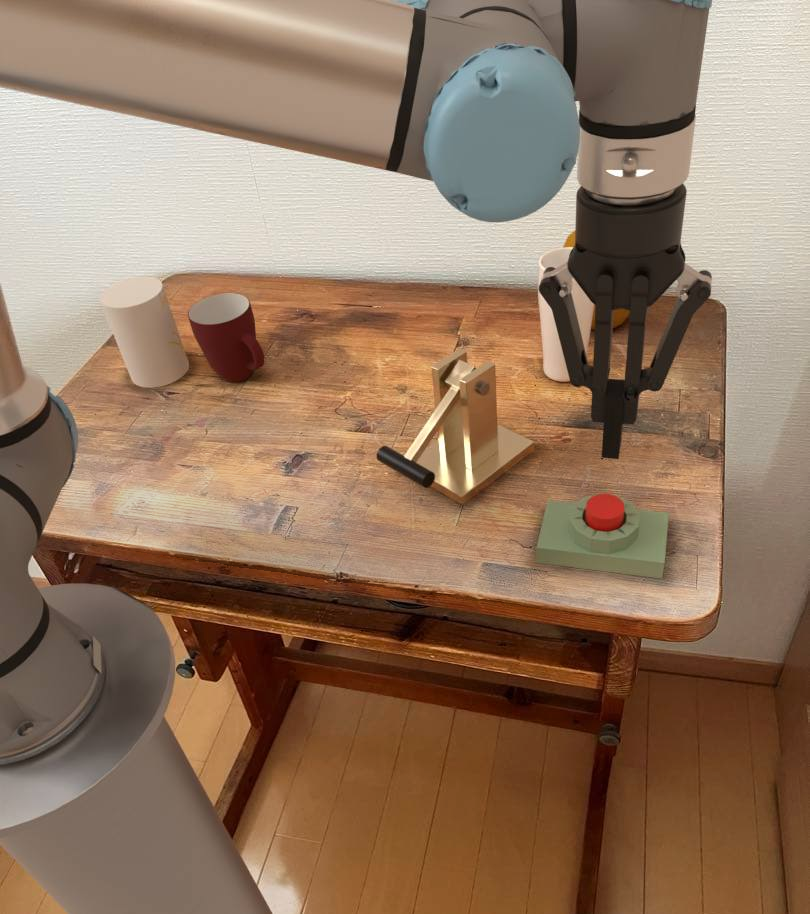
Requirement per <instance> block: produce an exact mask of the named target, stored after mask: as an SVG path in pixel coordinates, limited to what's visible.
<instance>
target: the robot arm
mask: <svg viewBox="0 0 810 914" xmlns="http://www.w3.org/2000/svg"><path fill="white" fill-rule="evenodd" d="M712 5H713V0H0V88H1V89H4V90H5V89H6V90H10V91H15V92H19V93H24V94H27V95H28V94H30V95H32V96H33V95H34V96H38V97H42V98H48V99H51V100H57V101H61V102H67V103H70V104H74V105H80V106H85V107H90V108H95V109H97V110H98V109H99V110H102V111H108V112H111V113H112V112H113V113H117V114H122V115H127V116H132V117H135V118H139V119H140V118H141V119H145V120H150V121H154V122H159V123H164V124H168V125H172V126H177V127H182V128H187V129H192V130H197V131H201V132H206V133H210V134H215V135H220V136H224V137H228V138H234V139H239V140H243V141H247V142H253V143H256V144H261V145H266V146H267V145H268V146H269V147H270V146H271V147H275V148H281V149H285V150H289V151H294V152H299V153H303V154H308V155H314V156H317V157H321V158H327V159H332V160H337V161H340V162H346V163H350V164H354V165H360V166H364V167H369V168H374V169H377V170H382V171H387V172H392V173H397V174H400V175H404V176H405V175H406V176H410V177H414V178H417V179H422V180H424V181H425V180H426V181H430V182H433V183H434V185H435V187H436V189H437V190H438V192H439V193H440V194H441V196H442V197H443V198H444V199H445V200H446V201H447V202H448V203H449V204H450V205H451V206H452V207H453V208H454V209H456V210H457V211H459V212H460V213H462V214H464V215H465V216H467V217H469V218H471V219H474V220H477V221H481V222H485V223H505V222H512V221H515V220H519V219H522V218H526V217H528V216H529V215H531V214H534V213H536V212H538V211H539V210H540V209H541V208H543V207H545V206H546V205H547V204H548V203H549V202H550V201H552V200H553V199H554V197H556V196H557V194H558V193H559V192H560V191H561V189H562V188H563V187H564V185H566V183H567V180H568V178H569V177H570V175H571V173H572V171H573V169H574V167H575V165H577V166H576V180H577V182H578V184H579V185H580V186H579V188H578V189H577V191H576V195H575V197H576V198H575V227H574V228H575V229H574V231H575V245H574V247H573V249H572V250H571V252H570V255H569V259H568V262H566V263H565V264H563V265H561V266H559V267H558V268H554V267H548V268H546V269H545V271H544V273H543V276H542V279H541V282H540V285H539V292H540V294H541V295H542V296H543V298H544V299H545V301H546V302H547V303H548V305H549V306H550V308H551V309H552V312H553V316H554V320H555V324H556V328H557V332H558V336H559V340H560V344H561V347H562V351H563V355H564V359H565V363H566V367H567V371H568V375H569V379H570V381H569V382H570V384H571V385H572V386H573V387H574V388H581V387H585V388H587V389H588V390H589V391H590V392H591V404H590V405H591V406H590V407H591V409H590V418H591V420H592V422H593V423H600V424H601V423H602V424H603V427H602V429H603V430H602V444H601V459H612V460H619V458H620V453H621V446H622V440H623V439H622V438H623V426H624V425H631V426H632V425H634V424H635V423H636V422H637V418H638V411H639V399H640V395H641V394H642V393H643V392H644V391H650V392H659V391H660V390H661V389H663V386H664V383H665V381H666V380H667V377H668V374H669V373H670V370H671V367H672V365H673V362H674V360H675V358H676V356H677V354H678V351H679V349H680V346H681V344H682V343H683V339H684V337H685V334H686V333H687V330H688V328H689V325H690V323H691V321H692V318H693V316H694V314H696V312H697V311H698V310H699V309H700V308H702V306H703V305H704V304H705V303H706V302H707V300H708V299H709V298H710V297H711V294H712V279H713V275H712V273H711V272H710V271H709V270H707V269H702V270H700V271H698V270H696V269H695V268H693V266H690V265H689V264H687V262H686V254H685V253H686V252H685V251H684V249H683V247H682V242H681V241H682V233H683V227H684V226H683V225H684V216H685V208H686V201H687V193H688V192H687V188H686V187H687V186H686V184H684V183H685V182H686V181H687V180H688V178H689V175H690V169H691V168H690V167H691V159H692V152H693V143H694V134H695V128H696V127H695V126H696V119H697V115H696V109H697V101H698V93H699V85H700V78H701V72H702V65H703V56H704V50H705V42H706V35H707V29H708V22H709V14H710V9H711V8H712ZM577 102H578V106H579V109H578V107H577ZM578 110H579V111H578ZM572 278H574V279H575V281H576V282H577V283H578V285H579V286H580V287H581V289H582V290H583V291H584V293H585V294H586V295H587V297H588V298H589V299H590V301H591V302H592V303H593V304H595V305H596V309H595V330H594V338H593V339H594V342H593V359H592V365H590V364H589V360H588V355H587V356H586V352H585V348H584V344H583V340H582V335H581V331H580V327H579V323H578V319H577V314H576V310H575V306H574V302H573V297H572V294H571V290H572V286H573V281H572ZM676 281H677V285H676V292H675V295H676V297H677V299H676V301H675V303H674V306H673V308H672V310H671V313H670V315H669V318H668V320H667V323H666V326H665V328H664V331H663V333H662V335H661V338H660V340H659V342H658V346H657V348H656V350H655V353H654V355H653V357H652V359H651V363H650V365H649V367H646V368H643V360H644V349H645V339H646V330H647V329H646V328H647V317H648V308H649V307H651V306H652V305H653V304H655V303H656V302H657V301H658V300H659V298H661V297H662V296H663V294H665V292H666V291H667V290H668V289H669V288H670V287H671V286H672V285H673V284H674V283H675V282H676ZM616 309H625V310H629V311H630V313H629V315H628V330H627V331H628V333H627V346H626V357H625V370H624V379H621V378H610V374H611V359H612V346H613V329H614V328H613V318H614V310H616ZM78 448H79V432H78V427H77V423H76V420H75V417H74V415H73V413H72V411H71V409H70V408H69V406H68V405H67V403H66V401H65V400H64V399H63V398H62V397H61V396H60V395H55V394H53V393H52V392H51V387H50V386H49V385H48V384H47V383H46V381H45V379H44V377H43V375H41V374H40V373H39V372H37V370H35V369H33V368H32V367H29V366H27V365H25V364H23V362H22V358H21V355H20V350H19V347H18V343H17V339H16V336H15V332H14V328H13V325H12V321H11V318H10V314H9V309H8V307H7V303H6V299H5V295H4V292H3V288H2V283H1V282H0V765H3V764H9V763H14V762H17V761H21V760H24V759H27V758H29V757H32V756H34V755H36V754H39V753H41V752H43V751H45V750H46V749H48V748H50V747H52V746H53V745H55V744H56V743H58V742H59V741H61V740H62V739H63V738H65V737H66V736H67V735H68V734H70V733H71V732H72V731H73V730H74V729H75V728H76V727H77V726H78V725H79V724H80V723H81V722H82V721H83V720H84V719H85V717H86V716H87V715H88V714H89V712H90V711H91V709H92V708H93V706H94V705H95V703H96V701H97V699H98V697H99V695H100V693H101V690H102V687H103V683H104V678H105V663H104V659H103V656H102V653H101V644H100V643H99V642H98V641H97V640H96V639H95V638H94V636H93V638H92V636H91V635H90V634H89V633H88V632H87V631H86V630H85V629H84V628H82V627H81V626H80V625H78V624H77V623H75V622H74V621H72V620H71V619H69V618H68V617H66V616H65V615H63V614H62V613H60V612H59V611H57V610H56V609H54V608H53V607H51V606H50V605H49V604H47V603H46V601H45V600H44V598H43V596H42V595H41V593H40V591H39V590H38V588H39V587H37V585H36V583H35V582H34V580H33V578H32V577H31V574H30V573H29V564H30V561H31V559H32V557H33V554H34V552H35V550H36V548H37V545H38V543H39V541H40V539H41V537H42V534H43V532H44V530H45V527H46V525H47V523H48V520H49V519H50V516H51V515H52V512H53V509H54V507H55V504H56V503H57V500H58V498H59V496H60V494H61V491H62V490H63V488H64V487H65V486H66V484H67V482H68V481H69V479H70V477H71V476H72V473H73V470H74V467H75V465H74V463H76V458H77V451H78Z"/></svg>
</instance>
